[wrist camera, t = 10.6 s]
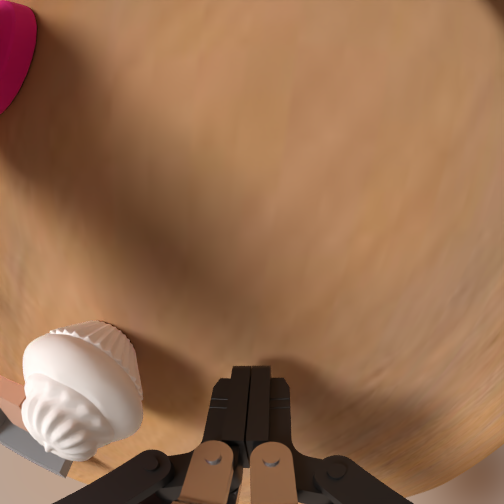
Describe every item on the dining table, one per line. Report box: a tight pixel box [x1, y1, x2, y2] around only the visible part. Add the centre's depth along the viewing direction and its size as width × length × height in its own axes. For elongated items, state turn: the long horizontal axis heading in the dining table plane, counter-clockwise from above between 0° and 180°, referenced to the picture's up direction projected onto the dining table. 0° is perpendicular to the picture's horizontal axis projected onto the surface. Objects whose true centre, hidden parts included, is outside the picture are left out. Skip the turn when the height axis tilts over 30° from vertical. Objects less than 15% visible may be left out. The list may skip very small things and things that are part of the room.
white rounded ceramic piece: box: [21, 320, 143, 461], centre depth 10 cm, size 6×6×7 cm
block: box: [0, 375, 28, 432], centre depth 17 cm, size 5×5×2 cm
